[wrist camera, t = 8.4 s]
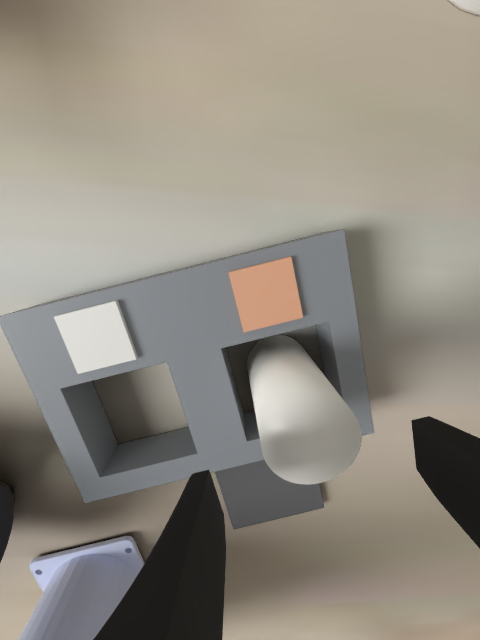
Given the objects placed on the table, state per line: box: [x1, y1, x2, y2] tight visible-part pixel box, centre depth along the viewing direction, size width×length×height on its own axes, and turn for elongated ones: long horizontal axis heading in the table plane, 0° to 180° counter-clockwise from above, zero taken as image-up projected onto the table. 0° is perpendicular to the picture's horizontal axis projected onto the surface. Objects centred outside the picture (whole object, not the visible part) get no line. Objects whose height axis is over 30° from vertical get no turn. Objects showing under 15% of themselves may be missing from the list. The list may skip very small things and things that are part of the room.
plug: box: [247, 335, 362, 485], centre depth 15 cm, size 4×4×8 cm
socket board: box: [0, 229, 374, 503], centre depth 17 cm, size 12×18×3 cm, turn 104°
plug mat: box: [215, 460, 324, 529], centre depth 21 cm, size 7×7×1 cm
